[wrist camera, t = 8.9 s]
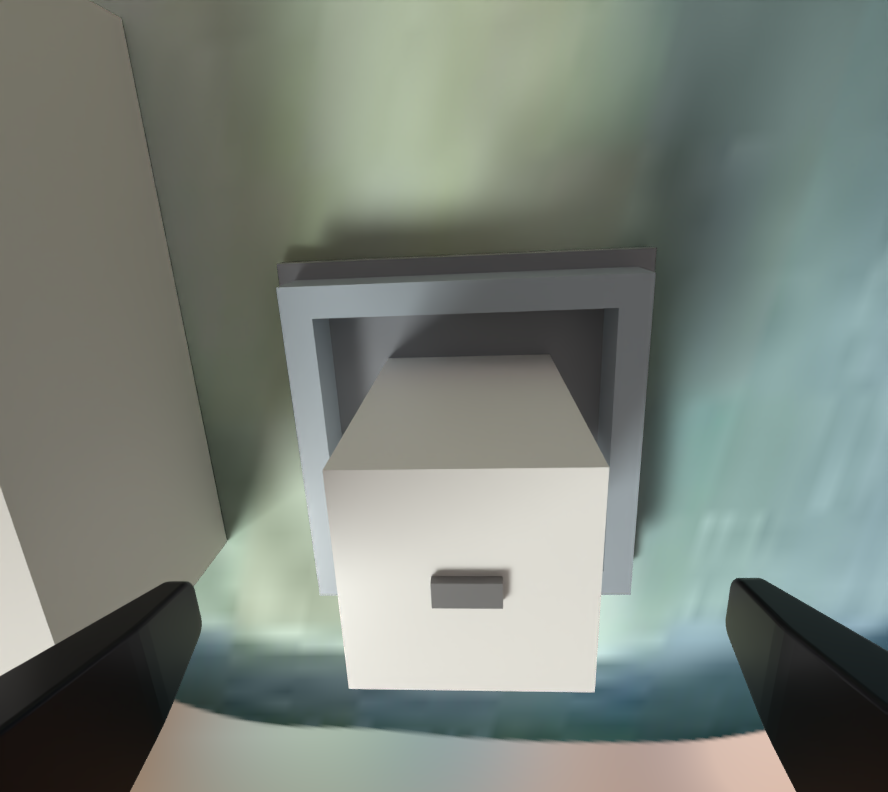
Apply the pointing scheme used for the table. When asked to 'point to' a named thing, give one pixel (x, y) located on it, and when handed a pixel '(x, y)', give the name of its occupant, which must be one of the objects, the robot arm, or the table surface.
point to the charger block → (468, 529)
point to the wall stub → (87, 342)
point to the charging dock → (474, 352)
